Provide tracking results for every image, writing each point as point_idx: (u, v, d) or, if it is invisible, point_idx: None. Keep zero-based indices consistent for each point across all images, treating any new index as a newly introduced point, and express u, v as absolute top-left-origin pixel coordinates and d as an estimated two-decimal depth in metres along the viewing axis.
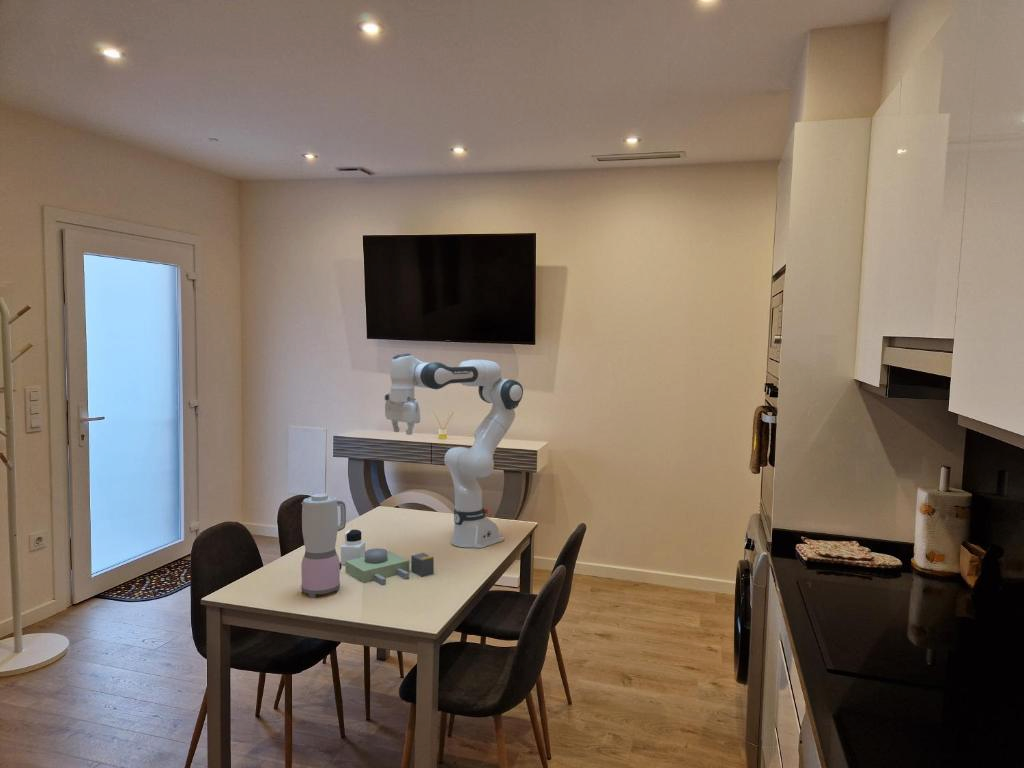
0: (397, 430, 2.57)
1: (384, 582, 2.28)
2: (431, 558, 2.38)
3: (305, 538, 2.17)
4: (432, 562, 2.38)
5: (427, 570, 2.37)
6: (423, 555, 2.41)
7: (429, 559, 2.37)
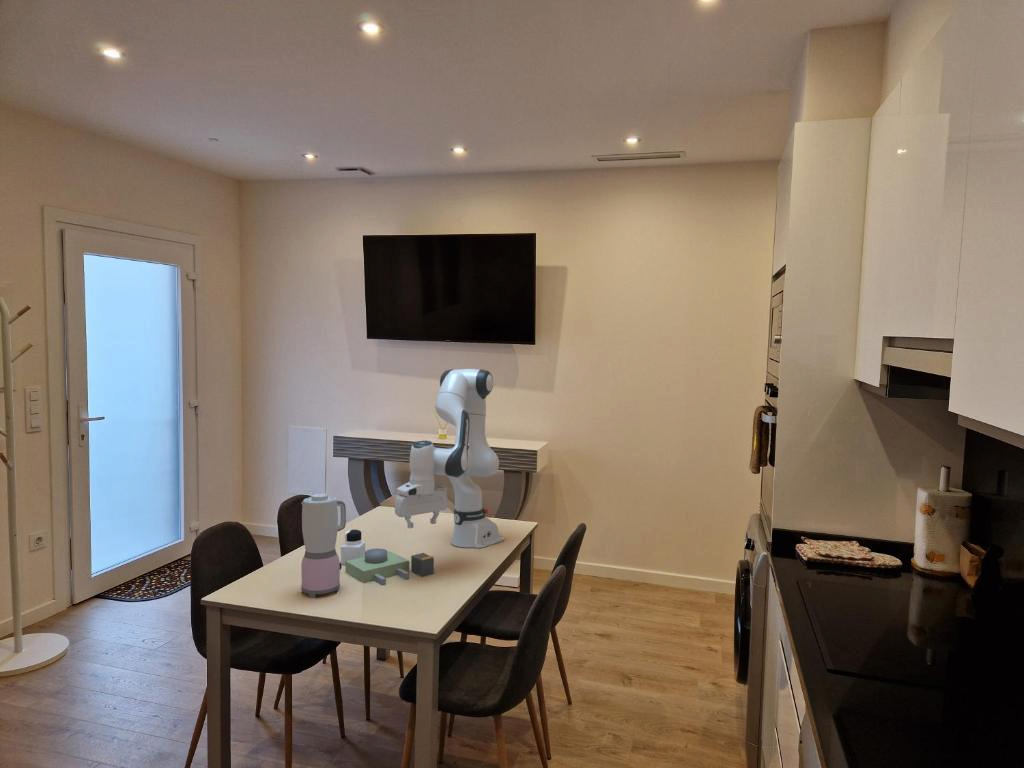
0: None
1: (384, 582, 2.28)
2: (431, 558, 2.38)
3: (305, 538, 2.17)
4: (432, 562, 2.38)
5: (427, 570, 2.37)
6: (423, 555, 2.41)
7: (429, 559, 2.37)
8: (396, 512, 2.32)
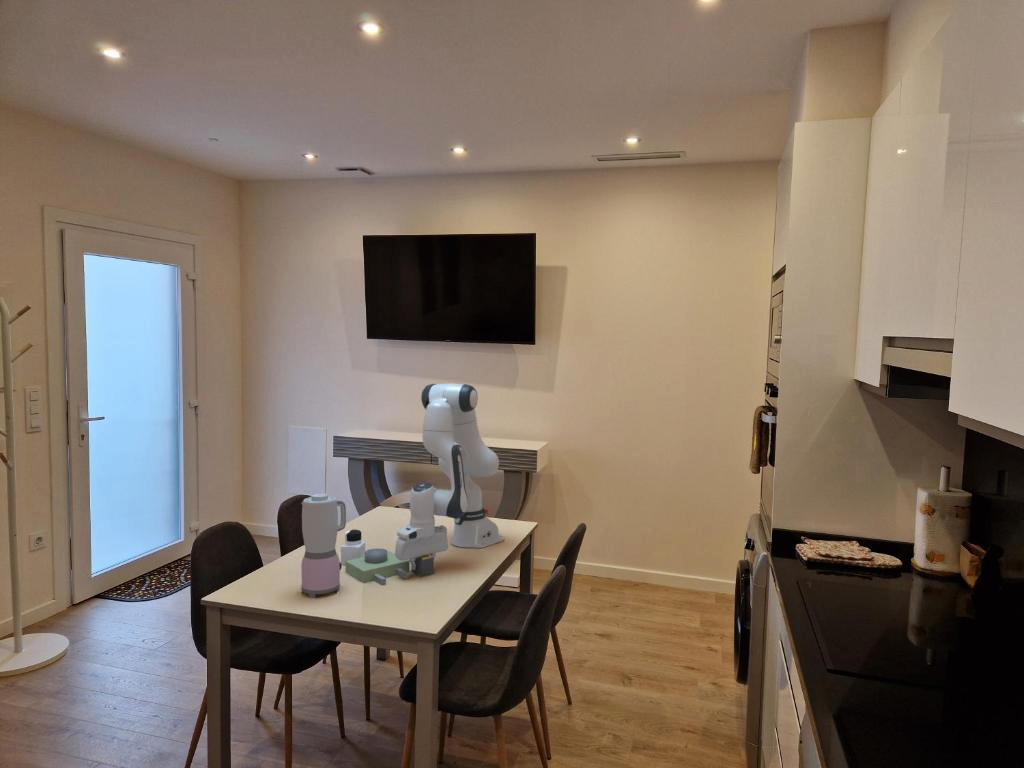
0: None
1: (384, 582, 2.28)
2: (431, 558, 2.38)
3: (305, 538, 2.17)
4: (432, 562, 2.38)
5: (427, 570, 2.37)
6: None
7: (429, 559, 2.37)
8: (397, 555, 2.33)
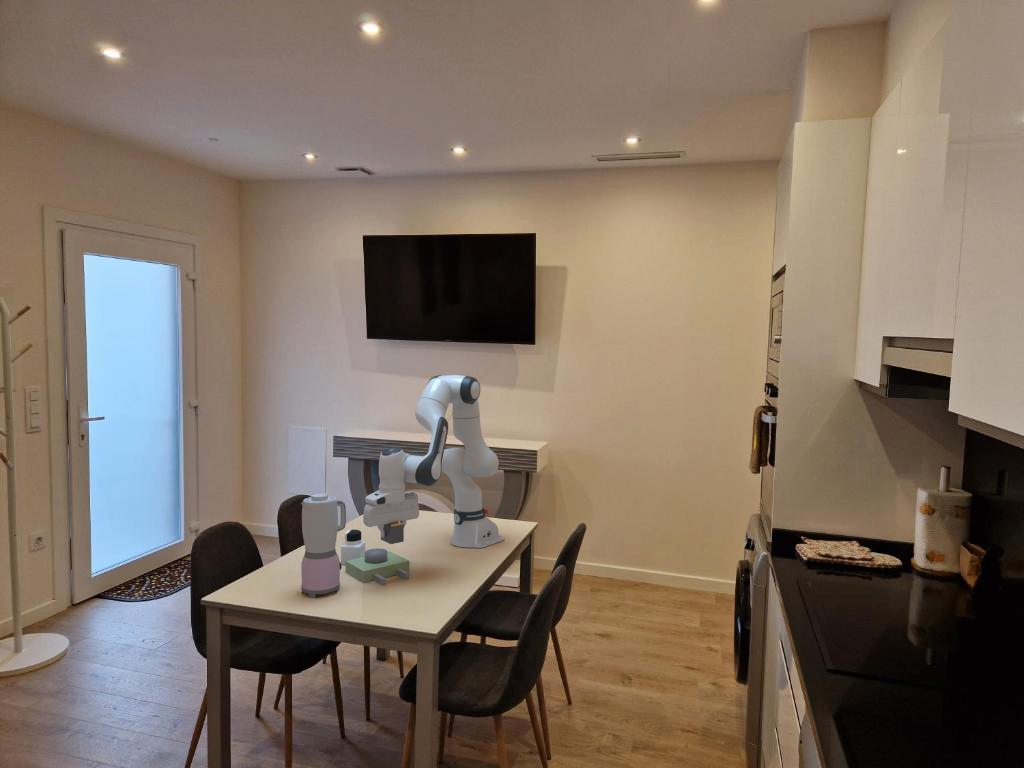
0: None
1: (384, 582, 2.28)
2: (401, 525, 2.29)
3: (305, 538, 2.17)
4: (402, 529, 2.30)
5: (396, 537, 2.28)
6: None
7: (399, 525, 2.29)
8: (364, 522, 2.25)
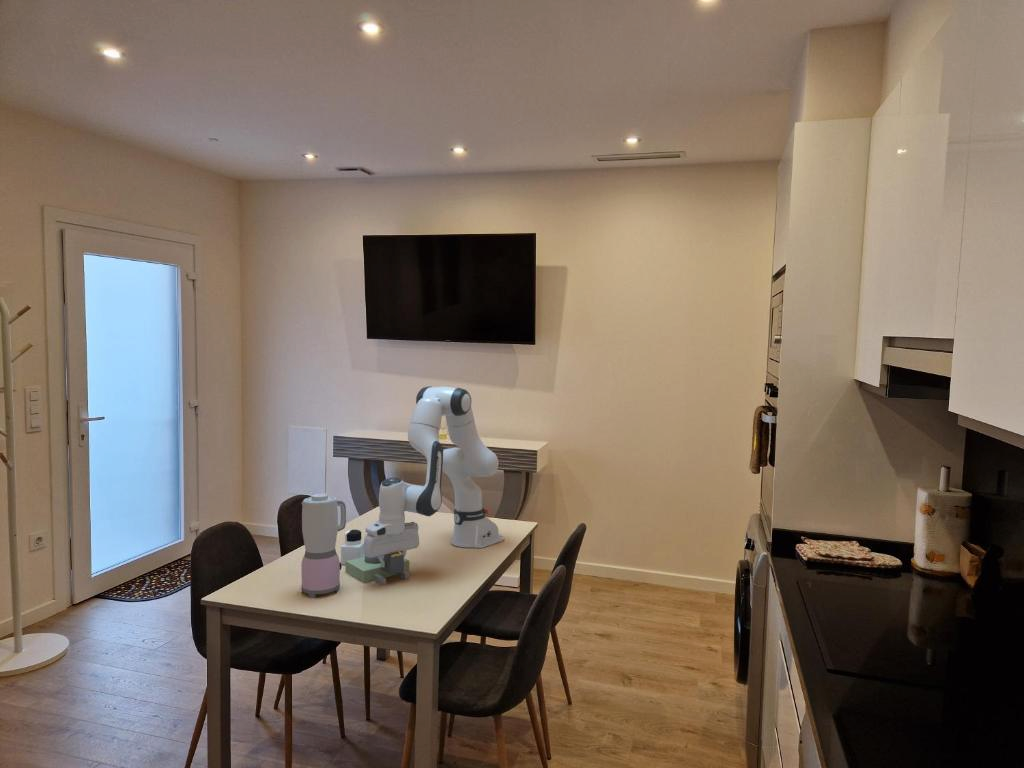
0: None
1: (384, 582, 2.28)
2: (401, 555, 2.30)
3: (305, 538, 2.17)
4: (402, 559, 2.30)
5: (396, 568, 2.29)
6: None
7: (399, 556, 2.29)
8: (365, 552, 2.25)
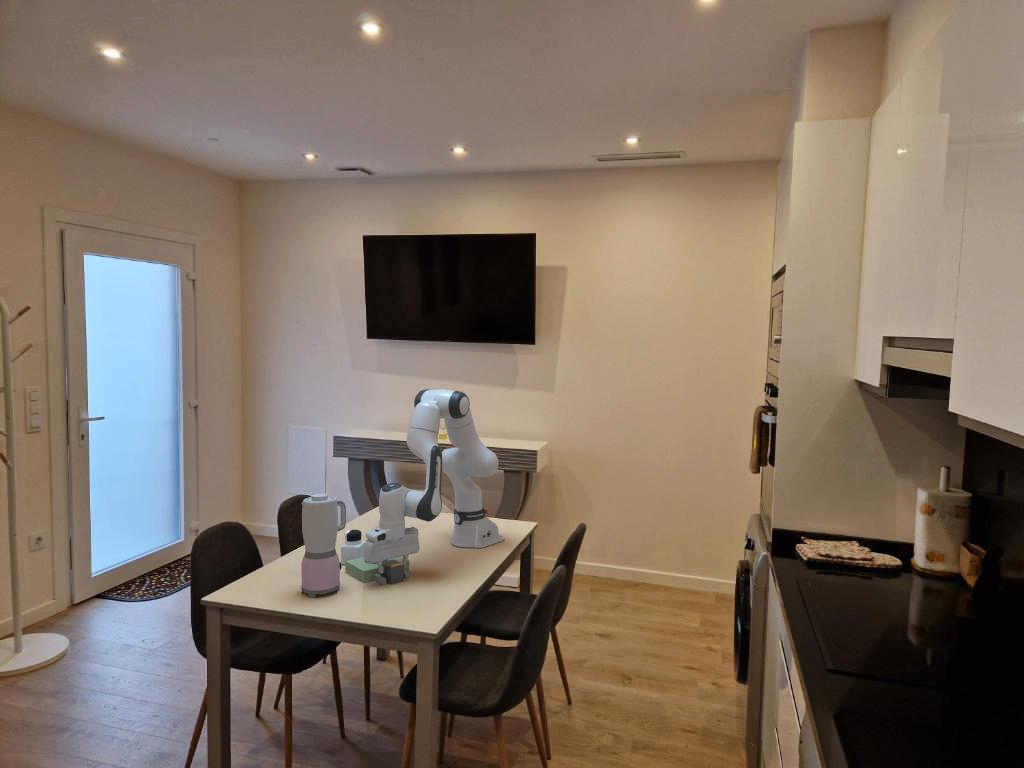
0: None
1: (384, 582, 2.28)
2: (401, 565, 2.30)
3: (305, 538, 2.17)
4: (402, 569, 2.31)
5: (397, 577, 2.29)
6: (393, 562, 2.33)
7: (399, 566, 2.30)
8: (365, 558, 2.26)
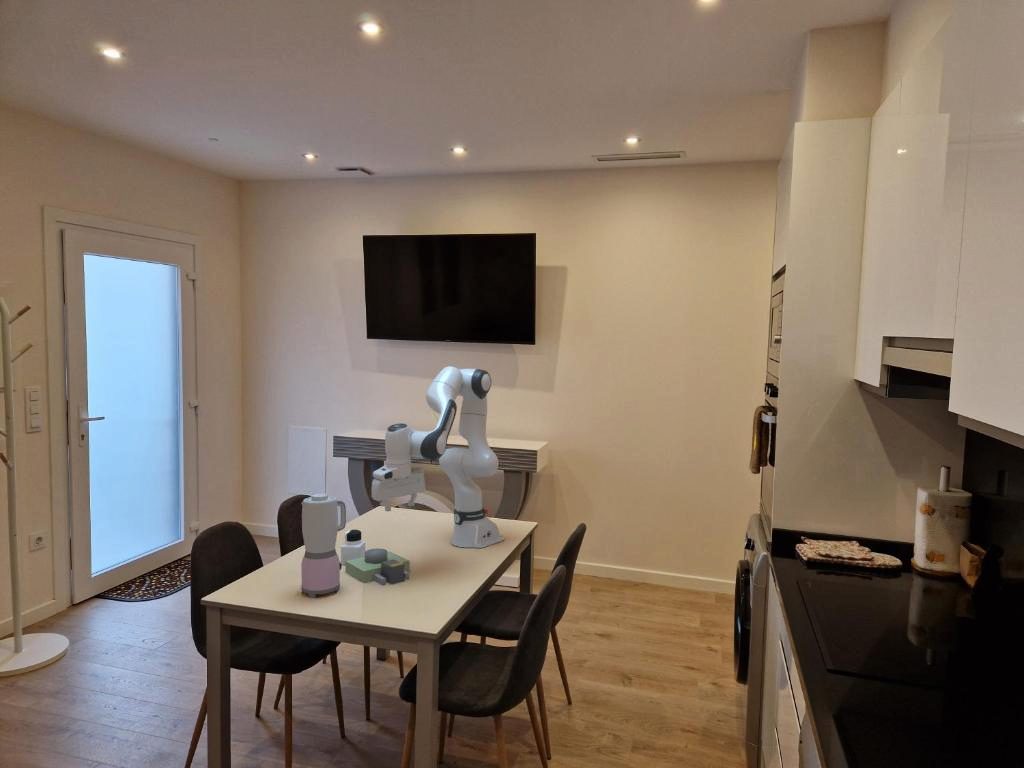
0: None
1: (384, 582, 2.28)
2: (401, 565, 2.30)
3: (305, 538, 2.17)
4: (402, 569, 2.31)
5: (397, 577, 2.29)
6: (393, 562, 2.33)
7: (399, 566, 2.30)
8: (373, 496, 2.32)
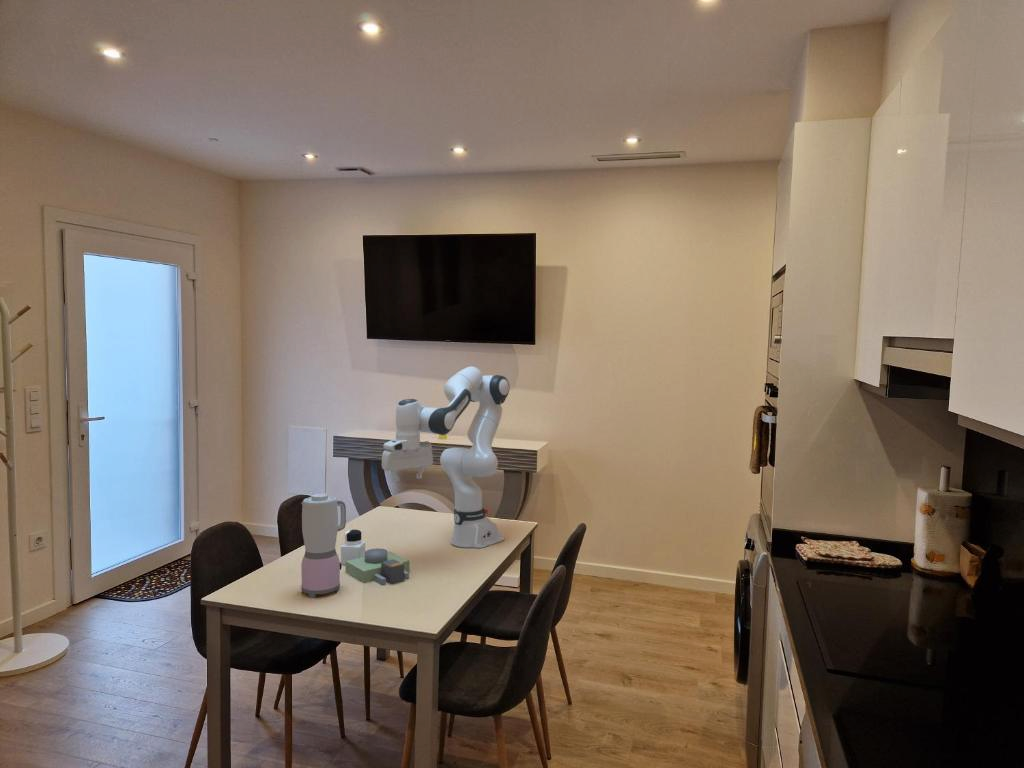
0: None
1: (384, 582, 2.28)
2: (401, 565, 2.30)
3: (305, 538, 2.17)
4: (402, 569, 2.31)
5: (397, 577, 2.29)
6: (393, 562, 2.33)
7: (399, 566, 2.30)
8: (383, 466, 2.43)
